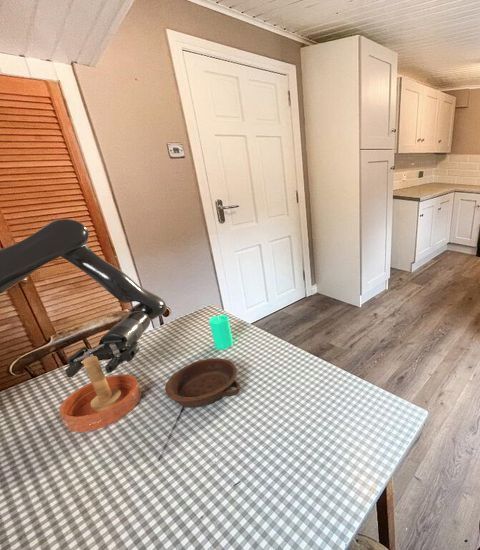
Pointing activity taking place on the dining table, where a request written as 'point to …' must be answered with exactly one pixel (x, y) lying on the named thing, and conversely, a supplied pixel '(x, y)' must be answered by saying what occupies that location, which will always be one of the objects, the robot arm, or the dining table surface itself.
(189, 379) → the dish
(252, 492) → the dining table surface
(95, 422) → the bowl
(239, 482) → the dining table surface
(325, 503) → the dining table surface
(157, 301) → the robot arm
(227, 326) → the candle
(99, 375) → the wooden pestle
